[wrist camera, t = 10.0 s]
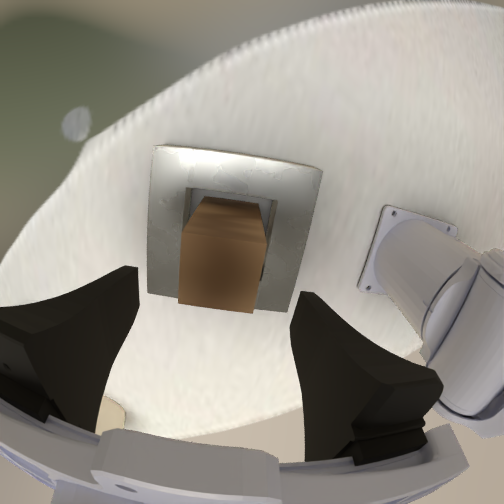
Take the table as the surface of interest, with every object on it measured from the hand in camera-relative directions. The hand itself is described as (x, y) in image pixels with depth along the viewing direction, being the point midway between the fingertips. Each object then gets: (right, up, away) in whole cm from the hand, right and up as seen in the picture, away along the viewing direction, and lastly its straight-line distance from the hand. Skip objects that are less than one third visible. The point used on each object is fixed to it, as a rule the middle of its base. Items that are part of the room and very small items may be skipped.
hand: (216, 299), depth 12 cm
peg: (0, +4, +9) cm, 10 cm away
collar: (0, +4, +9) cm, 10 cm away
